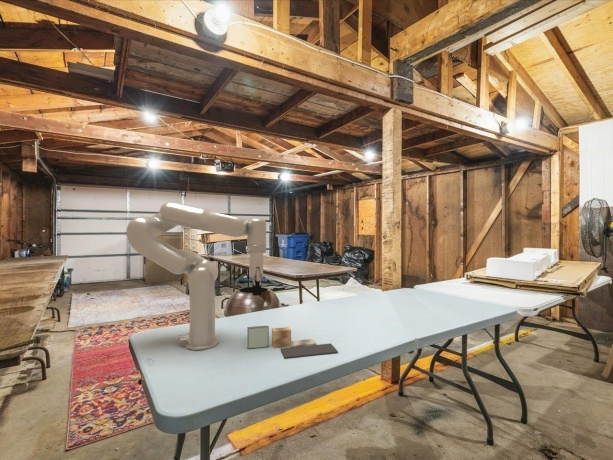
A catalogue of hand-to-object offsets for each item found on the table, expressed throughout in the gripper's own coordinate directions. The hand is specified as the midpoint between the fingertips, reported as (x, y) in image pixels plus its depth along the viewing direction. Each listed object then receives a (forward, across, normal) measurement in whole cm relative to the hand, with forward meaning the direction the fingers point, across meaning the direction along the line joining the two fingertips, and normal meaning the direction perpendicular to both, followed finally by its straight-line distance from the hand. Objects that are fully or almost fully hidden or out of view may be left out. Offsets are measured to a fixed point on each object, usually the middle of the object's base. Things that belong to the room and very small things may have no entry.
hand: (256, 294), depth 122 cm
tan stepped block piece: (+19, +7, +14) cm, 25 cm away
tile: (+19, +6, 0) cm, 20 cm away
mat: (+19, +15, +18) cm, 30 cm away
